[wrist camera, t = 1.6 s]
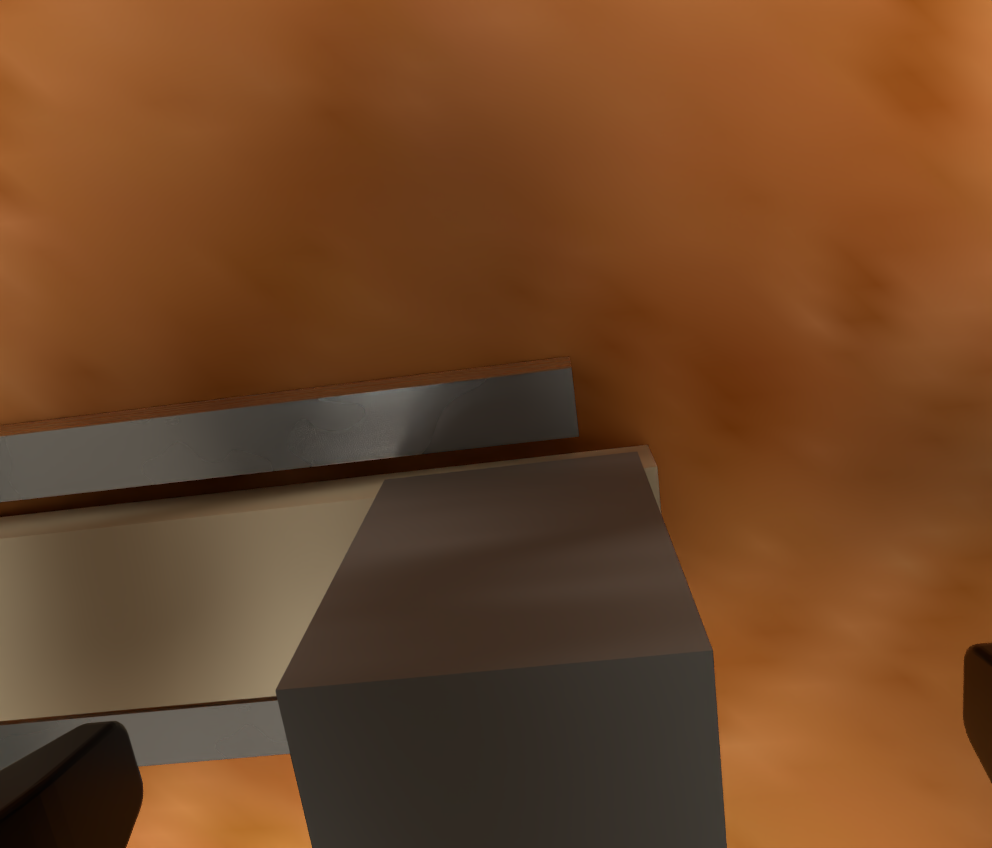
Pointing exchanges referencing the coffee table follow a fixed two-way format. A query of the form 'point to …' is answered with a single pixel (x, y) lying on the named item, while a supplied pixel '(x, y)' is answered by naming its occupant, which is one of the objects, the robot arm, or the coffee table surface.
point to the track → (255, 449)
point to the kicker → (401, 645)
